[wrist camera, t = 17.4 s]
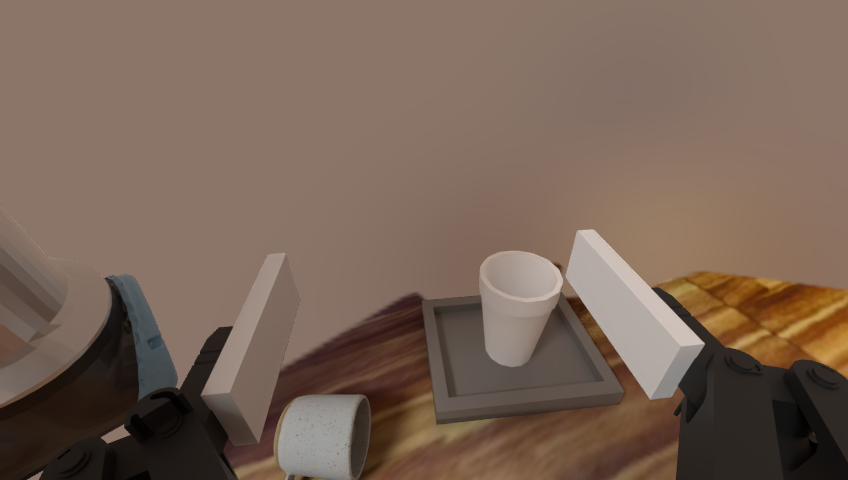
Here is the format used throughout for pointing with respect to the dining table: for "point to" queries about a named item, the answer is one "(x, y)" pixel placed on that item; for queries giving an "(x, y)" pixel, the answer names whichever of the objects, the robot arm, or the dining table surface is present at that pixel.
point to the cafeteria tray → (511, 386)
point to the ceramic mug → (324, 436)
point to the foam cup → (516, 303)
